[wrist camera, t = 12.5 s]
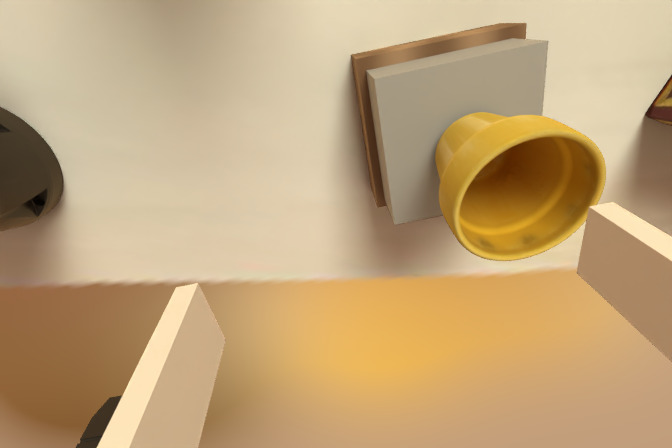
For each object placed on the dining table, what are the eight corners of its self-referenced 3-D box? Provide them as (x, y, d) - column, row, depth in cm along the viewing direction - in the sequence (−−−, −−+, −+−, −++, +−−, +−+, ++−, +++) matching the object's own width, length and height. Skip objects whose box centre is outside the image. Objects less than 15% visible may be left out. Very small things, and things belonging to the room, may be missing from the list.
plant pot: (511, 60, 28) (595, 95, 20) (542, 160, 34) (618, 219, 26) (394, 132, 31) (428, 189, 23) (441, 214, 36) (481, 283, 28)
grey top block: (384, 199, 41) (394, 224, 36) (365, 70, 35) (374, 79, 29) (507, 175, 41) (535, 197, 35) (512, 38, 34) (548, 40, 29)
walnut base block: (371, 186, 47) (377, 207, 42) (350, 54, 39) (355, 59, 34) (493, 163, 46) (516, 181, 41) (498, 23, 38) (526, 23, 33)
